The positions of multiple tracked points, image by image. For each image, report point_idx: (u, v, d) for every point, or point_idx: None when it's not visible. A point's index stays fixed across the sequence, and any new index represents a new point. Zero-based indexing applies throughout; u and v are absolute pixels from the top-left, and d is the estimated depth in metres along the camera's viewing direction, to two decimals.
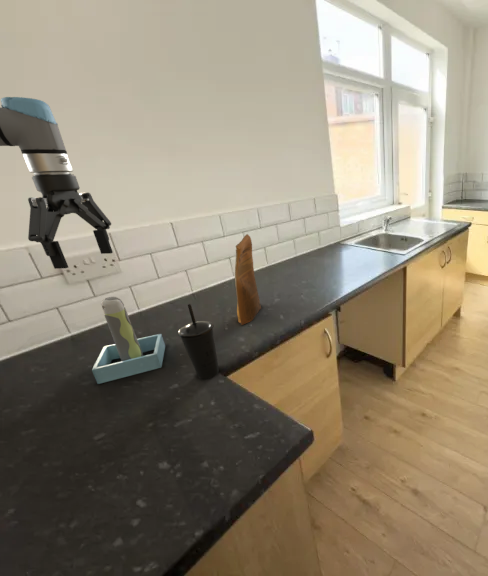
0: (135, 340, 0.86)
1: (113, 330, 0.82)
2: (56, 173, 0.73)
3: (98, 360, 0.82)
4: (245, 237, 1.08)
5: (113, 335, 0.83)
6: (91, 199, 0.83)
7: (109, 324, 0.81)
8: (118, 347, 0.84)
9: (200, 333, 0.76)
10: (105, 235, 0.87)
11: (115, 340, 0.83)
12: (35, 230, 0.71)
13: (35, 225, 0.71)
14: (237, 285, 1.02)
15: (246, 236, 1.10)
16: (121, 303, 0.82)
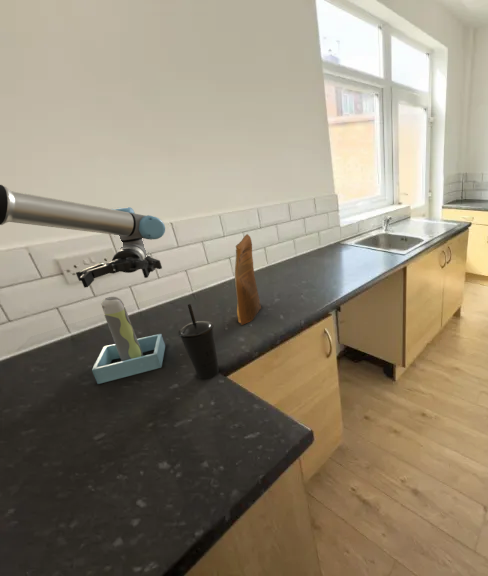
0: (135, 340, 0.86)
1: (113, 330, 0.82)
2: None
3: (98, 360, 0.82)
4: (245, 237, 1.08)
5: (113, 335, 0.83)
6: None
7: (109, 324, 0.81)
8: (118, 347, 0.84)
9: (200, 333, 0.76)
10: None
11: (115, 340, 0.83)
12: None
13: None
14: (237, 285, 1.02)
15: (246, 236, 1.10)
16: (121, 303, 0.82)
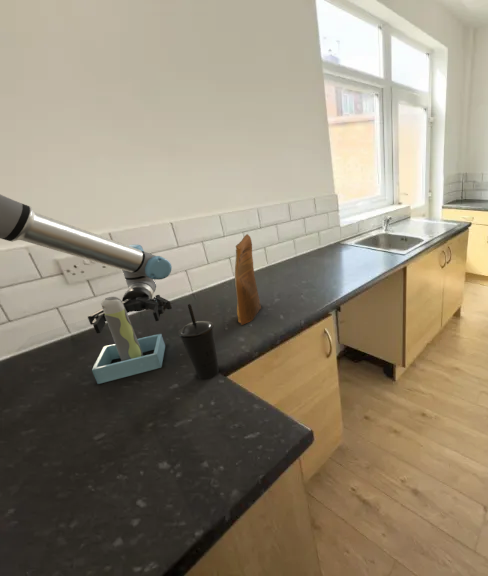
0: (135, 340, 0.86)
1: (113, 330, 0.82)
2: None
3: (98, 360, 0.82)
4: (245, 237, 1.08)
5: (113, 335, 0.83)
6: None
7: (109, 324, 0.81)
8: (118, 347, 0.84)
9: (200, 333, 0.76)
10: None
11: (115, 340, 0.83)
12: None
13: None
14: (237, 285, 1.02)
15: (246, 236, 1.10)
16: (121, 303, 0.82)
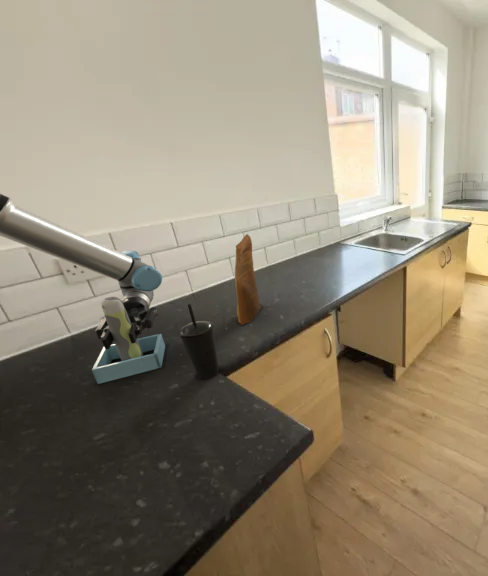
0: None
1: (113, 330, 0.82)
2: None
3: (98, 360, 0.82)
4: (245, 237, 1.08)
5: (113, 335, 0.83)
6: None
7: (109, 324, 0.81)
8: (118, 347, 0.84)
9: (200, 333, 0.76)
10: None
11: (115, 340, 0.83)
12: (151, 321, 0.91)
13: (152, 319, 0.92)
14: (237, 285, 1.02)
15: (246, 236, 1.10)
16: (121, 303, 0.82)
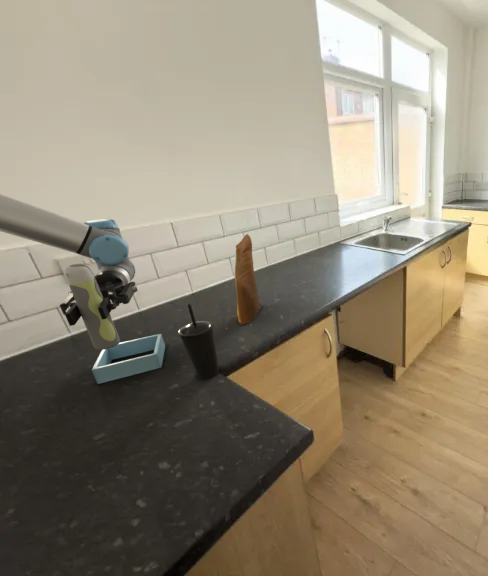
0: (108, 317, 0.73)
1: (80, 304, 0.69)
2: None
3: (98, 360, 0.82)
4: (245, 237, 1.08)
5: (80, 310, 0.69)
6: None
7: (75, 296, 0.68)
8: (87, 324, 0.71)
9: (200, 333, 0.76)
10: None
11: (83, 316, 0.70)
12: (129, 296, 0.78)
13: (129, 295, 0.79)
14: (237, 285, 1.02)
15: (246, 236, 1.10)
16: (90, 271, 0.69)
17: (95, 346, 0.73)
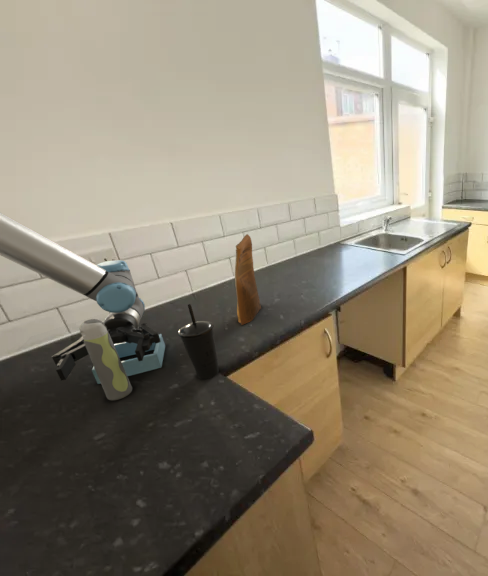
0: (120, 368, 0.74)
1: (93, 358, 0.70)
2: None
3: None
4: (245, 237, 1.08)
5: (94, 364, 0.71)
6: None
7: (89, 351, 0.69)
8: (100, 377, 0.72)
9: (200, 333, 0.76)
10: None
11: (96, 369, 0.71)
12: None
13: None
14: (237, 285, 1.02)
15: (246, 236, 1.10)
16: (103, 326, 0.70)
17: (108, 397, 0.74)
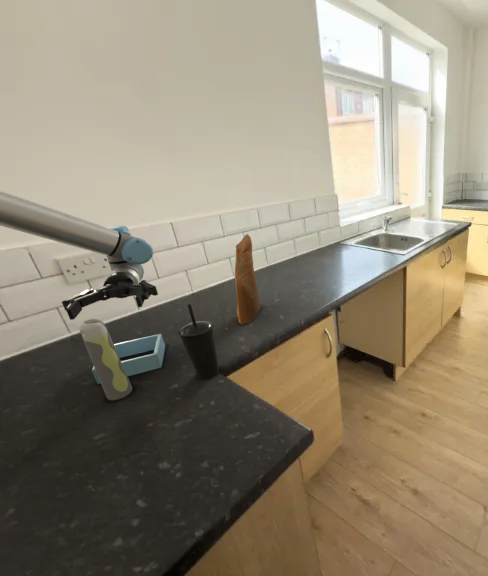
0: (120, 368, 0.74)
1: (93, 358, 0.70)
2: None
3: None
4: (245, 237, 1.08)
5: (94, 364, 0.71)
6: None
7: (89, 351, 0.69)
8: (100, 377, 0.72)
9: (200, 333, 0.76)
10: None
11: (96, 369, 0.71)
12: None
13: None
14: (237, 285, 1.02)
15: (246, 236, 1.10)
16: (103, 326, 0.70)
17: (108, 397, 0.74)
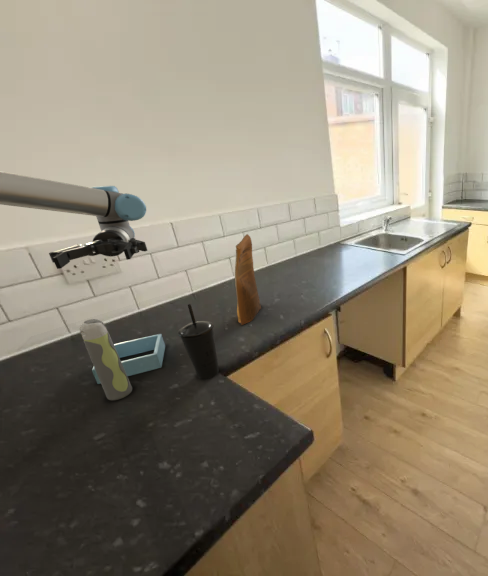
0: (120, 368, 0.74)
1: (93, 358, 0.70)
2: None
3: None
4: (245, 237, 1.08)
5: (94, 364, 0.71)
6: None
7: (89, 351, 0.69)
8: (100, 377, 0.72)
9: (200, 333, 0.76)
10: None
11: (96, 369, 0.71)
12: None
13: None
14: (237, 285, 1.02)
15: (246, 236, 1.10)
16: (103, 326, 0.70)
17: (108, 397, 0.74)
